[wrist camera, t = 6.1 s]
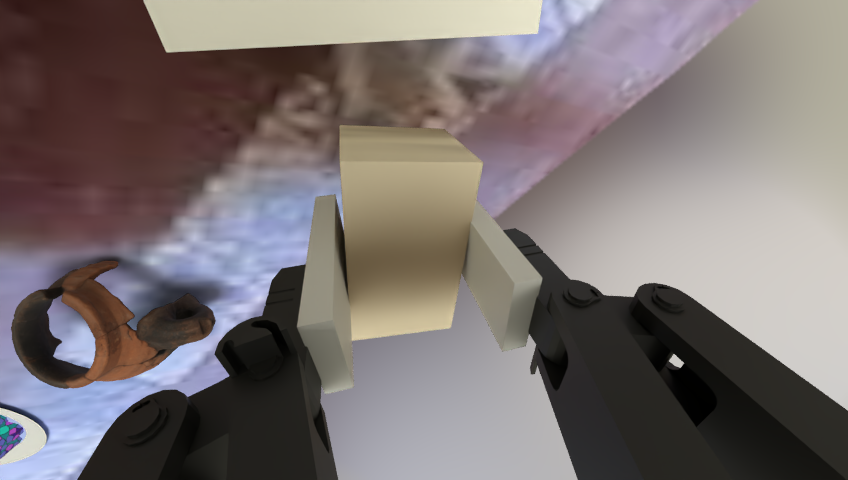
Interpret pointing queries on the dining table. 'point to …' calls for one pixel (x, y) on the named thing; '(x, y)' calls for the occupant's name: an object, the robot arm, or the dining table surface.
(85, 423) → the dining table surface
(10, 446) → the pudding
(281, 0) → the slot box
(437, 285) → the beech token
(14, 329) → the pottery mug
